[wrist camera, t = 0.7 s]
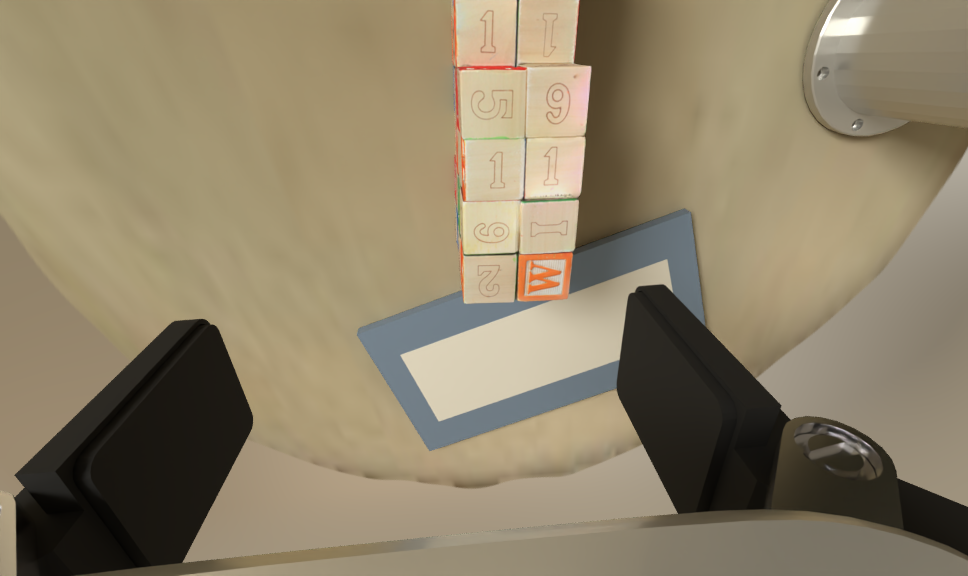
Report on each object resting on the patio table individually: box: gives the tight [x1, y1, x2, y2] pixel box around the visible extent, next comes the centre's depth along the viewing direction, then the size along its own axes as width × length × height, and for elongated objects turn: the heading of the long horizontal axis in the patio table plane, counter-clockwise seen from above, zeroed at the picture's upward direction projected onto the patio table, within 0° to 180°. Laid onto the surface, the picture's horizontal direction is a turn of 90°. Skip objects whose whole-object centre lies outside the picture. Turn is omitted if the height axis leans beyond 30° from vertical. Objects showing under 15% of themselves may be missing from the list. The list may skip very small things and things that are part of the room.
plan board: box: [357, 209, 705, 451], centre depth 41 cm, size 30×16×1 cm, turn 110°
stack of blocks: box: [451, 0, 592, 304], centre depth 25 cm, size 21×6×12 cm, turn 0°
